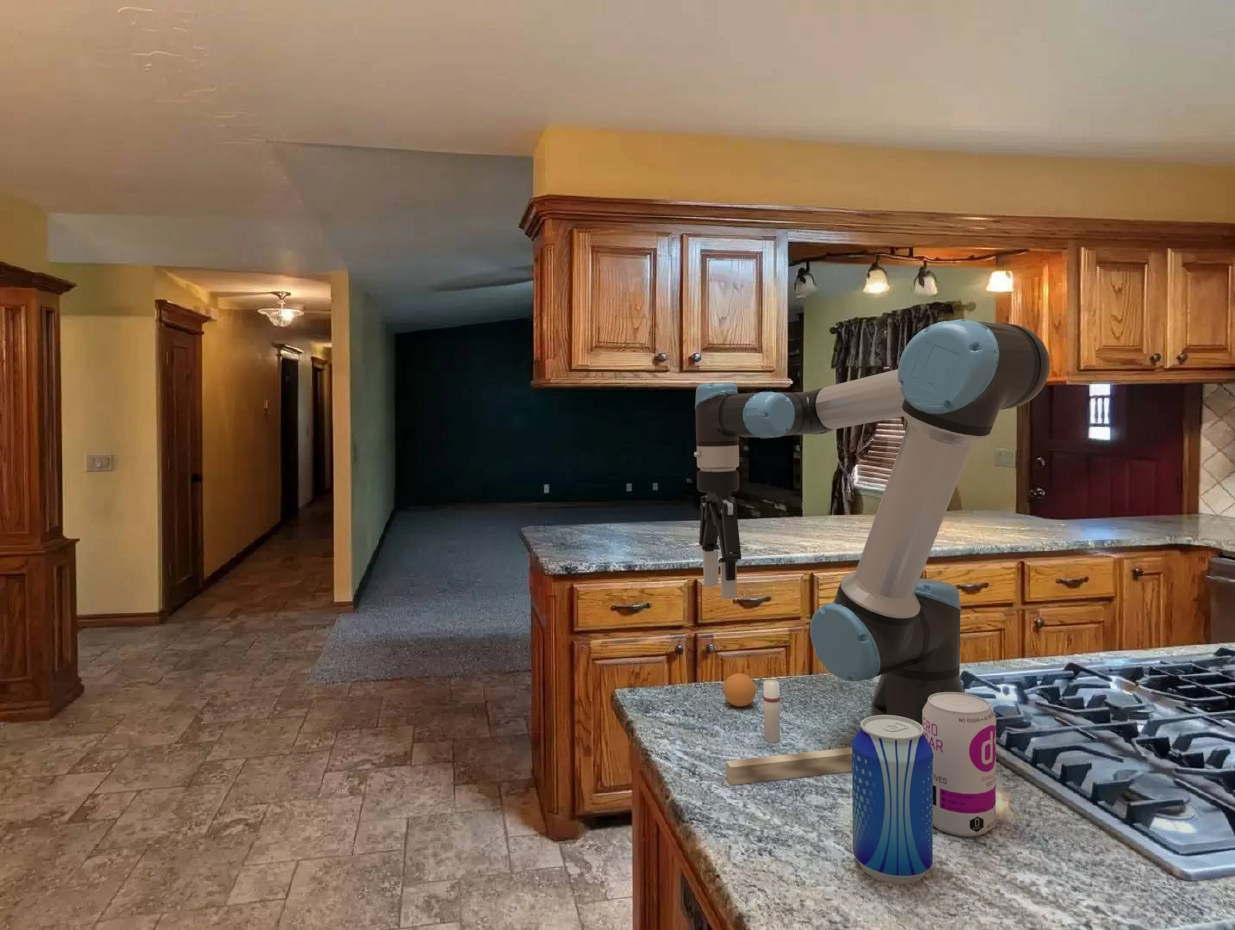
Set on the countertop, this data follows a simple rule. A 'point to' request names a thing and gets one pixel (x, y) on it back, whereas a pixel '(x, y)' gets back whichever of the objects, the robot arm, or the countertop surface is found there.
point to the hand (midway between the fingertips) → (719, 591)
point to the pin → (771, 711)
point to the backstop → (789, 766)
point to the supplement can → (962, 762)
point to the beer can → (892, 799)
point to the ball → (739, 689)
